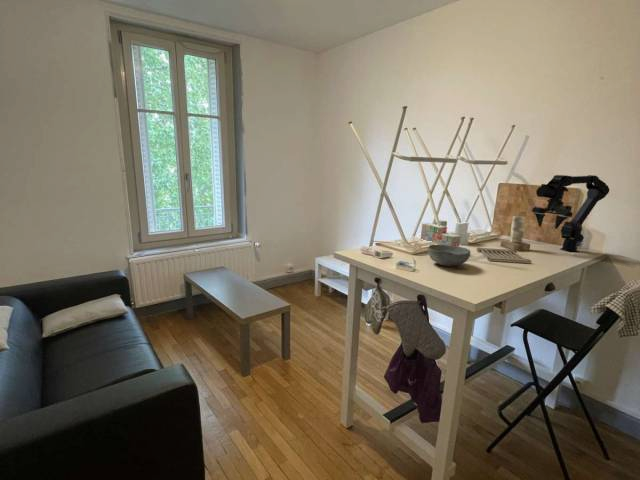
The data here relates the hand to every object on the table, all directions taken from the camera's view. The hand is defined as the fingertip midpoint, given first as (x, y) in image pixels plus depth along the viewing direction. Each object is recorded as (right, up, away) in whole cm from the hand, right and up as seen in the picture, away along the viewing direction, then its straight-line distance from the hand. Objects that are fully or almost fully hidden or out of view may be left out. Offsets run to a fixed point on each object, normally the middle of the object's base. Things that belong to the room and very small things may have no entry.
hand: (547, 227), depth 182 cm
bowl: (-66, -18, -30) cm, 74 cm away
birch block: (-14, -8, +5) cm, 17 cm away
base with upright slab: (-42, -9, +15) cm, 45 cm away
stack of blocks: (-60, -12, -1) cm, 61 cm away
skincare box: (-53, -7, +18) cm, 56 cm away
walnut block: (-15, -12, +6) cm, 20 cm away
